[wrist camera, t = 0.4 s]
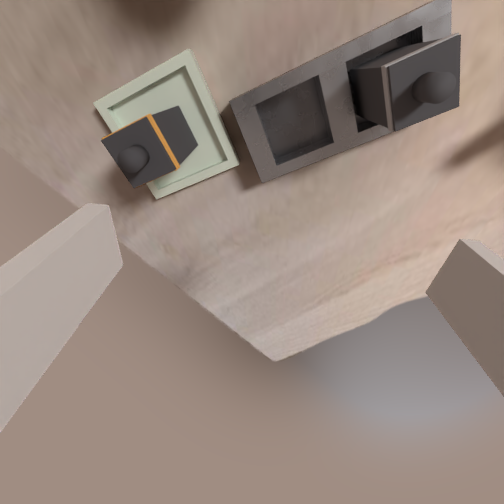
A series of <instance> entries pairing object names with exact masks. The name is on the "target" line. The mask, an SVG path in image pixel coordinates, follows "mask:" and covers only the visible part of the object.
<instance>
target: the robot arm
mask: <svg viewBox="0 0 504 504" xmlns="http://www.w3.org/2000/svg"><path fill="white" fill-rule="evenodd" d="M122 266H123V261H122V257H121V253H120V249H119V245H118V240H117V236H116V232H115V228H114V224H113V220H112V216H111V211H110V207H109V205H103V204H93V203H87V204H86V205H84V206H83V207H82V208H80V209H79V210H77V211H76V212H75V213H74V214H72V215H71V216H69V217H68V218H67V219H65V220H64V221H63V222H61V223H60V224H58V225H57V226H56V227H54V228H53V229H52V230H50V231H49V232H47V233H46V234H45V235H43V236H42V237H41V238H39V239H38V240H36V241H35V242H34V243H32V244H31V245H30V246H28V247H27V248H26V249H24V250H23V251H21V252H20V253H19V254H17V255H16V256H15V257H13V258H12V259H10V260H9V261H8V262H6V263H5V264H4V265H2V266H1V267H0V432H1V431H2V430H3V428H4V427H5V426H6V424H7V423H8V422H9V420H10V419H11V417H12V416H13V415H14V413H15V412H16V410H17V409H18V408H19V407H20V405H21V404H22V402H23V401H24V400H25V398H26V397H27V396H28V394H29V393H30V392H31V390H32V389H33V387H34V386H35V385H36V383H37V382H38V381H39V379H40V378H41V377H42V375H43V374H44V372H45V371H46V369H47V368H48V367H49V365H50V364H51V363H52V362H53V360H54V359H55V357H56V356H57V355H58V353H59V352H60V351H61V349H62V348H63V347H64V345H65V343H66V342H67V341H68V340H69V338H70V337H71V335H72V334H73V333H74V331H75V330H76V329H77V327H78V326H79V325H80V323H81V322H82V321H83V319H84V318H85V316H86V315H87V314H88V312H89V311H90V310H91V308H92V307H93V306H94V304H95V303H96V302H97V300H98V299H99V297H100V296H101V295H102V293H103V292H104V291H105V289H106V288H107V287H108V285H109V284H110V282H111V281H112V280H113V278H114V277H115V276H116V274H117V273H118V271H119V270H120V269H121V267H122ZM426 294H427V295H428V296H429V298H430V299H431V300H432V301H433V303H434V304H435V306H436V307H437V308H438V310H439V311H440V312H441V314H442V315H443V316H444V318H445V319H446V320H447V322H448V323H449V324H450V326H451V327H452V328H453V330H454V331H455V332H456V334H457V335H458V336H459V338H460V339H461V340H462V342H463V343H464V344H465V346H466V347H467V348H468V350H469V351H470V352H471V354H472V355H473V356H474V358H475V359H476V360H477V362H478V363H479V364H480V366H481V367H482V368H483V370H484V371H485V372H486V373H487V375H488V376H489V378H490V379H491V380H492V381H493V383H494V384H495V386H496V387H497V388H498V390H499V391H500V392H501V393H502V395H503V396H504V259H503V258H501V257H500V256H499V255H498V254H496V253H495V252H494V251H492V250H491V249H490V248H488V247H487V246H486V245H484V244H483V243H482V242H480V241H476V240H466V239H459V241H458V242H457V244H456V246H455V247H454V249H453V250H452V252H451V253H450V255H449V256H448V258H447V260H446V261H445V263H444V264H443V266H442V267H441V269H440V270H439V272H438V274H437V275H436V277H435V278H434V280H433V281H432V283H431V284H430V286H429V288H428V289H427V291H426Z"/></svg>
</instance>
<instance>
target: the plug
mask: <svg viewBox="0 0 504 504" xmlns="http://www.w3.org/2000/svg"><path fill="white" fill-rule="evenodd" d="M101 141H102V143H103V144H104V146H105V147H106V149H107V150H108V152H109V153H110V155H111V156H112V157H113V159H114V160H115V162H116V163H117V165H118V166H119V168H120V169H121V170H122V172H123V173H124V175H125V176H126V178H127V179H128V181H129V182H130V183H131V185H132V186H133V188H137V187H139V186H142V185H144V184H146V183H148V182H151V181H153V180H155V179H157V178H160V177H162V176H164V175H166V174H169V173H171V172H173V171H176V170H178V169H179V168H180V164H181V163H182V162H183V161H184V160H185V159H186V158H187V157H188V156H189V155H190V154H191V153H192V151H193V150H194V149H195V148H196V147H197V146H198V143H197V141H196V139H195V137H194V135H193V133H192V131H191V129H190V127H189V125H188V123H187V121H186V119H185V117H184V115H183V113H182V111H181V109H180V107H179V105H178V106H175V107H173V108H170V109H167V110H164V111H161V112H158V113H156V114H153V115H151V114H148V115H146V116H144V117H142V118H140V119H138V120H136V121H134V122H132V123H130V124H128V125H126V126H125V127H123V128H121V129H119V130H117V131H115V132H113V133H111V134H109V135H107V136H105V137H103V138H102V140H101Z"/></svg>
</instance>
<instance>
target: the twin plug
mask: <svg viewBox="0 0 504 504" xmlns="http://www.w3.org/2000/svg"><path fill="white" fill-rule="evenodd" d="M460 44H461V35H459V33H456V34H451V35H449V36H447V37H445V38H442V39H437V40H432V41H427V42H423V43H418V44H413V45H408V46H403V47H399V48H395V49H393V50H391V51H389V52H386V53H384V54H382V55H380V56H378V57H376V58H374V59H371V60H369V61H367V62H365V63H363V64H361V65H358V66H356V67H354V68H352V69H350V75H351V81H352V87H353V93H354V99H355V105H356V111H357V115H358V116H360V117H362V118H365V119H367V120H370V121H372V122H374V123H377V124H379V125H382V126H384V127H386V128H388V131H391V132H394V131H398V130H400V129H403V128H405V127H408V126H411V125H413V124H416V123H418V122H421V121H423V120H426V119H428V118H431V117H434V116H436V115H439V114H441V113H444V112H446V111H449V110H451V109H454V108H457V107H459V88H460Z"/></svg>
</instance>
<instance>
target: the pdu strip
mask: <svg viewBox="0 0 504 504" xmlns="http://www.w3.org/2000/svg"><path fill="white" fill-rule="evenodd" d="M449 35H451V0H433V1H431V2H429V3H427V4H425V5H423V6H421V7H419V8H416V9H414V10H412V11H410V12H408V13H406V14H404V15H402V16H400V17H398V18H396V19H394V20H392V21H390V22H388V23H386V24H384V25H382V26H380V27H378V28H376V29H374V30H372V31H370V32H368V33H366V34H364V35H362V36H359V37H357V38H355V39H353V40H351V41H349V42H347V43H345V44H343V45H341V46H339V47H337V48H335V49H333V50H331V51H329V52H327V53H325V54H323V55H321V56H319V57H317V58H315V59H313V60H311V61H309V62H307V63H305V64H302V65H300V66H298V67H296V68H294V69H292V70H290V71H288V72H286V73H284V74H282V75H280V76H278V77H276V78H274V79H272V80H270V81H268V82H266V83H264V84H262V85H260V86H258V87H256V88H254V89H252V90H250V91H248V92H246V93H243V94H241V95H239V96H237V97H235V98H233V99H232V100H230V101H229V102H230V105H231V107H232V110H233V112H234V115H235V117H236V120H237V122H238V125H239V127H240V130H241V132H242V135H243V137H244V140H245V142H246V145H247V147H248V150H249V152H250V155H251V157H252V160H253V162H254V165H255V167H256V169H257V172H258V174H259V177H260V179H261V182H262V183H264V182H266V181H269V180H271V179H274V178H277V177H279V176H282V175H284V174H287V173H289V172H292V171H294V170H297V169H299V168H302V167H305V166H307V165H310V164H312V163H315V162H317V161H320V160H322V159H325V158H328V157H330V156H333V155H335V154H338V153H340V152H343V151H345V150H348V149H351V148H353V147H356V146H358V145H361V144H363V143H366V142H368V141H371V140H373V139H376V138H379V137H381V136H384V135H386V134H389V133H391V131H388V128H386V127H384V126H382V125H379V124H377V123H374V122H372V121H370V120H367V119H365V118H362V117H360V116H358V115H357V111H356V105H355V99H354V93H353V87H352V81H351V75H350V69H352V68H354V67H356V66H358V65H361V64H363V63H365V62H367V61H369V60H371V59H374V58H376V57H378V56H380V55H382V54H384V53H386V52H389V51H391V50H393V49H395V48H399V47H403V46H408V45H413V44H418V43H423V42H427V41H432V40H437V39H442V38H445V37H447V36H449Z"/></svg>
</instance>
